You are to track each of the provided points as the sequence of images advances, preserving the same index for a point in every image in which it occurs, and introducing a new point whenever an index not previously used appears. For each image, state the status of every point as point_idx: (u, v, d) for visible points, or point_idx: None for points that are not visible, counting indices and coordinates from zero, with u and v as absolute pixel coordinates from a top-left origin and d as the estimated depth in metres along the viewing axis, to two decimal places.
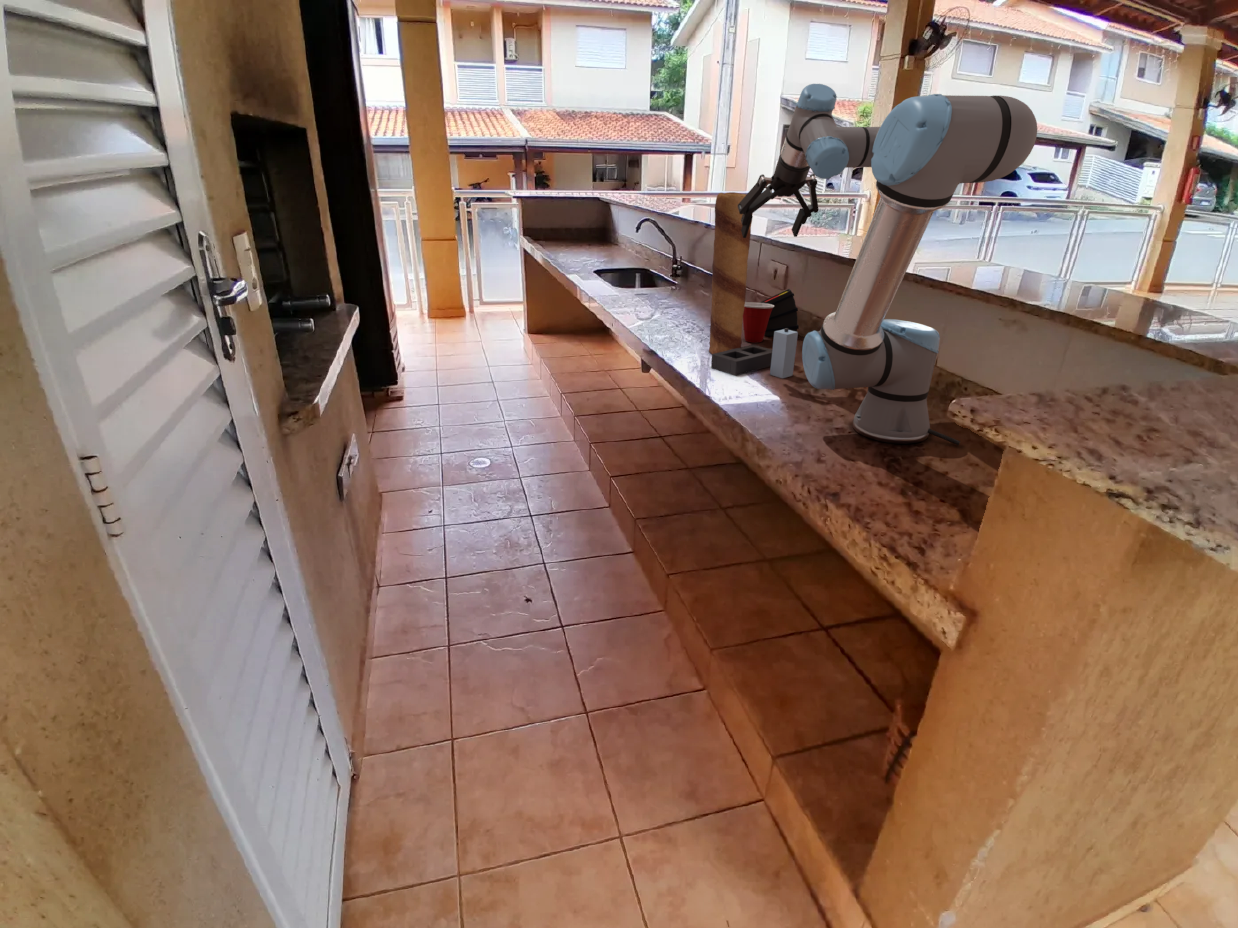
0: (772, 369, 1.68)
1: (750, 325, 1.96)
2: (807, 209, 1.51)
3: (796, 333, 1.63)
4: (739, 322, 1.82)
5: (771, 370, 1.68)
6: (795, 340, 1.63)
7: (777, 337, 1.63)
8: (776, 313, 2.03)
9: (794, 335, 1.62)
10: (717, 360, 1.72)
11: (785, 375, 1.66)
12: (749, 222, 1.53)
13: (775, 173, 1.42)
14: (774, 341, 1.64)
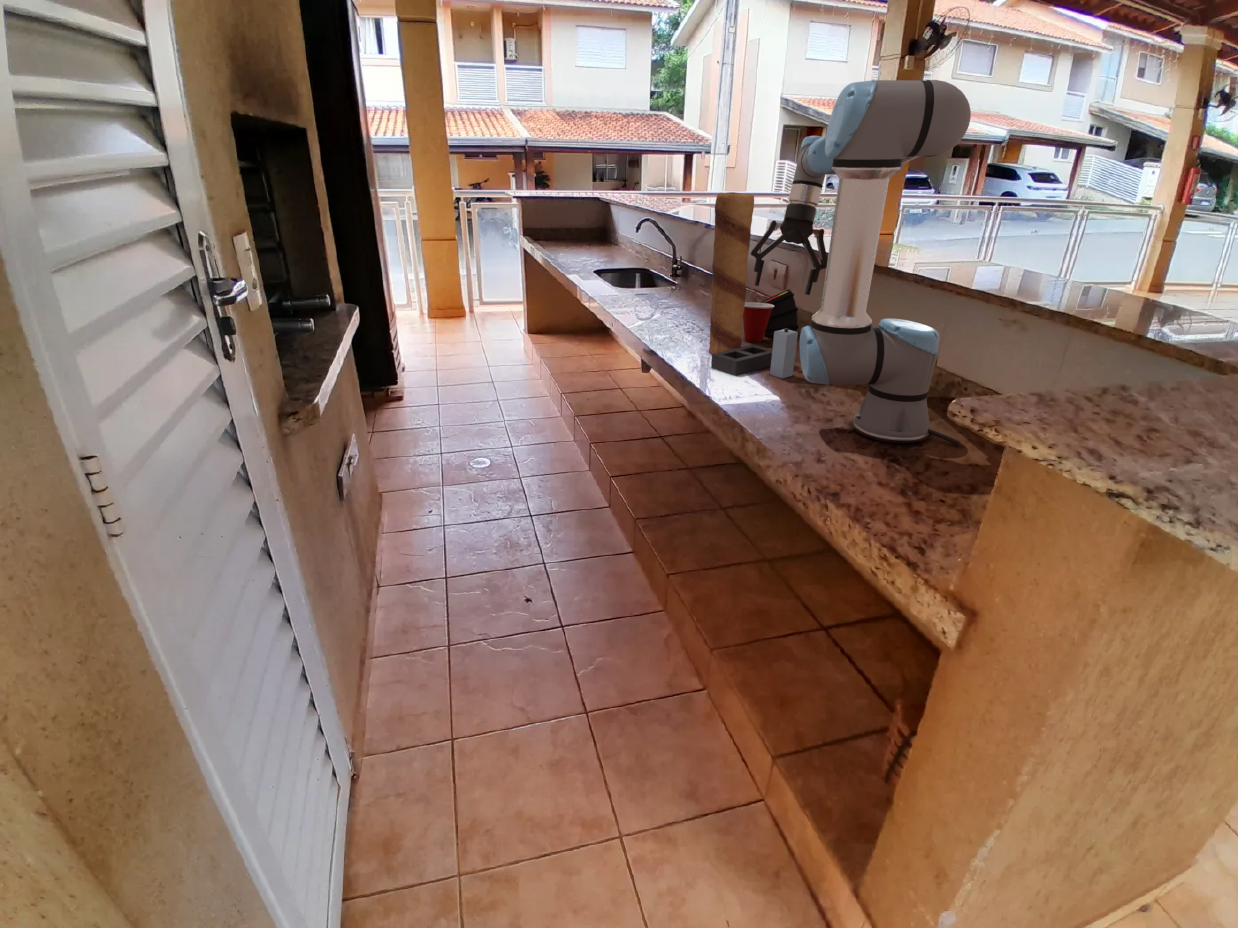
0: (772, 369, 1.68)
1: (750, 325, 1.96)
2: (817, 261, 1.59)
3: (796, 333, 1.63)
4: (739, 322, 1.82)
5: (771, 370, 1.68)
6: (795, 340, 1.63)
7: (777, 337, 1.63)
8: (776, 313, 2.03)
9: (794, 335, 1.62)
10: (717, 360, 1.72)
11: (785, 375, 1.66)
12: (761, 266, 1.61)
13: (784, 217, 1.58)
14: (774, 341, 1.64)
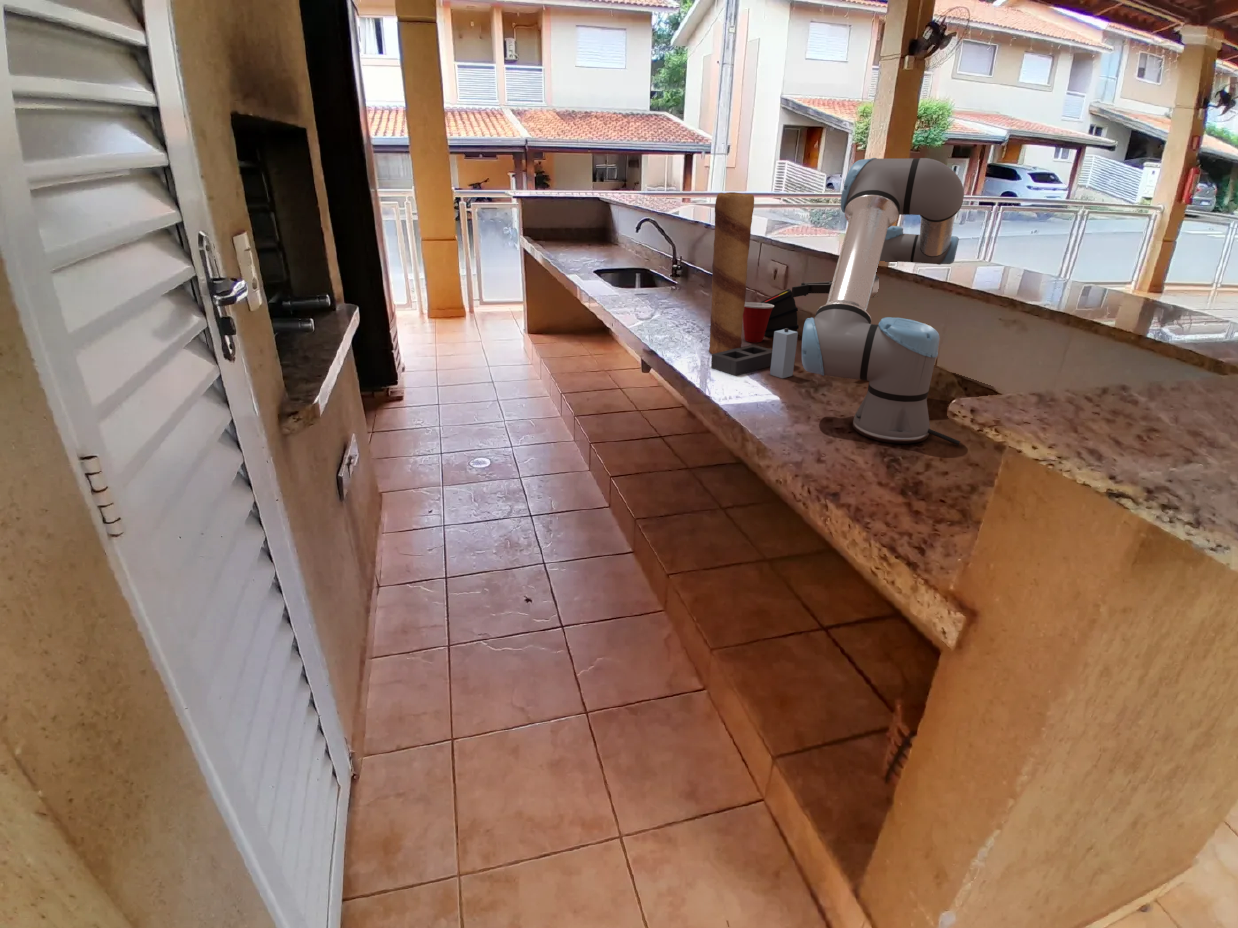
0: (772, 369, 1.68)
1: (750, 325, 1.96)
2: None
3: (796, 333, 1.63)
4: (739, 322, 1.82)
5: (771, 370, 1.68)
6: (795, 340, 1.63)
7: (777, 337, 1.63)
8: (776, 313, 2.03)
9: (794, 335, 1.62)
10: (717, 360, 1.72)
11: (785, 375, 1.66)
12: (804, 285, 1.72)
13: None
14: (774, 341, 1.64)
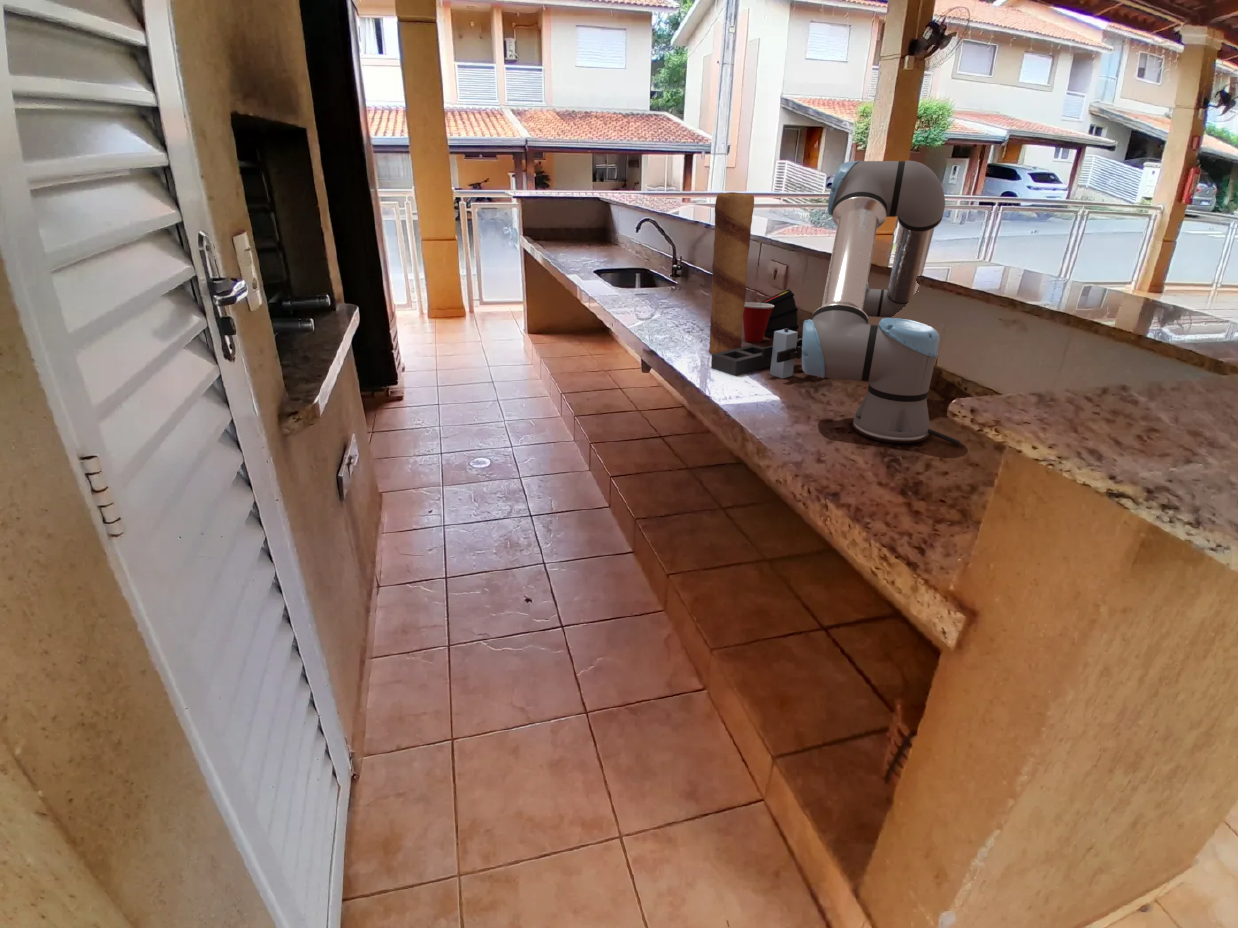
0: (772, 369, 1.68)
1: (750, 325, 1.96)
2: None
3: (796, 333, 1.63)
4: (739, 322, 1.82)
5: (771, 370, 1.68)
6: (795, 340, 1.63)
7: (777, 337, 1.63)
8: (776, 313, 2.03)
9: (794, 335, 1.62)
10: (717, 360, 1.72)
11: (785, 375, 1.66)
12: None
13: None
14: (774, 341, 1.64)
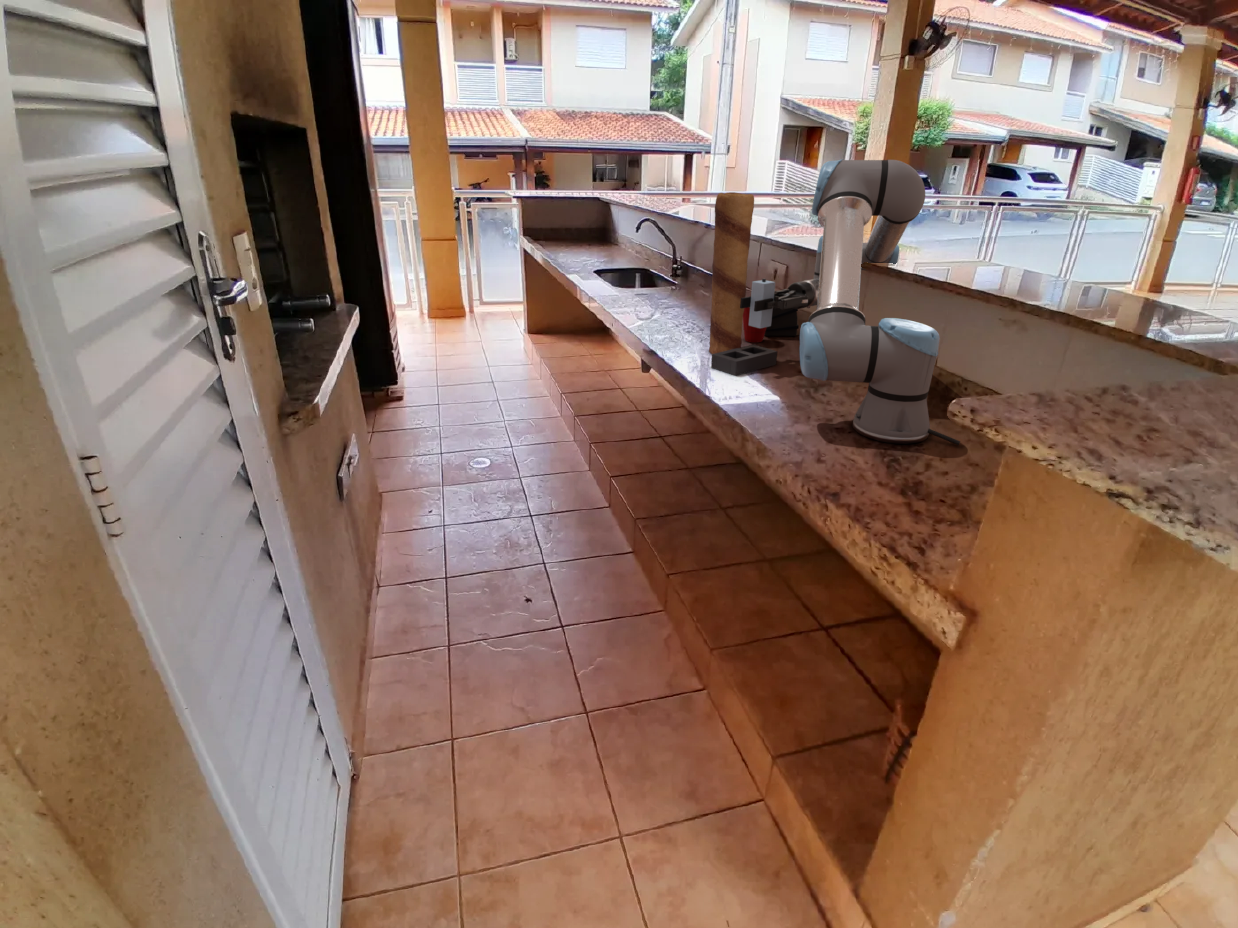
0: (750, 320, 1.71)
1: None
2: (779, 298, 1.68)
3: (773, 283, 1.66)
4: (739, 322, 1.82)
5: (750, 321, 1.71)
6: (772, 290, 1.67)
7: (755, 287, 1.67)
8: (776, 313, 2.03)
9: (772, 285, 1.66)
10: (717, 360, 1.72)
11: (763, 325, 1.70)
12: None
13: None
14: (752, 291, 1.68)
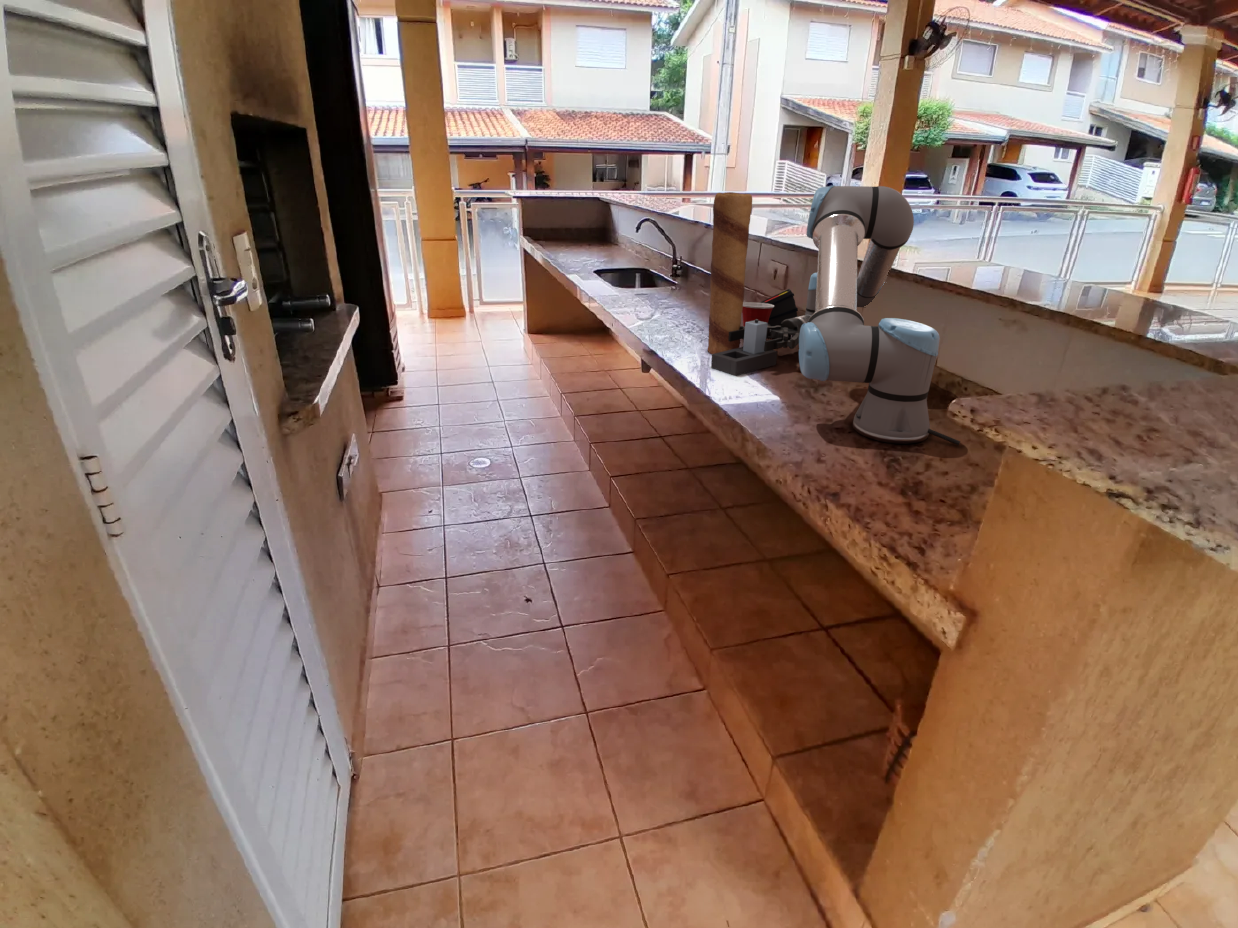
0: None
1: None
2: None
3: (766, 324, 1.72)
4: (737, 322, 1.82)
5: None
6: (765, 330, 1.73)
7: (748, 328, 1.73)
8: (776, 313, 2.03)
9: (764, 326, 1.72)
10: (717, 360, 1.72)
11: None
12: (741, 329, 1.80)
13: None
14: (745, 331, 1.74)
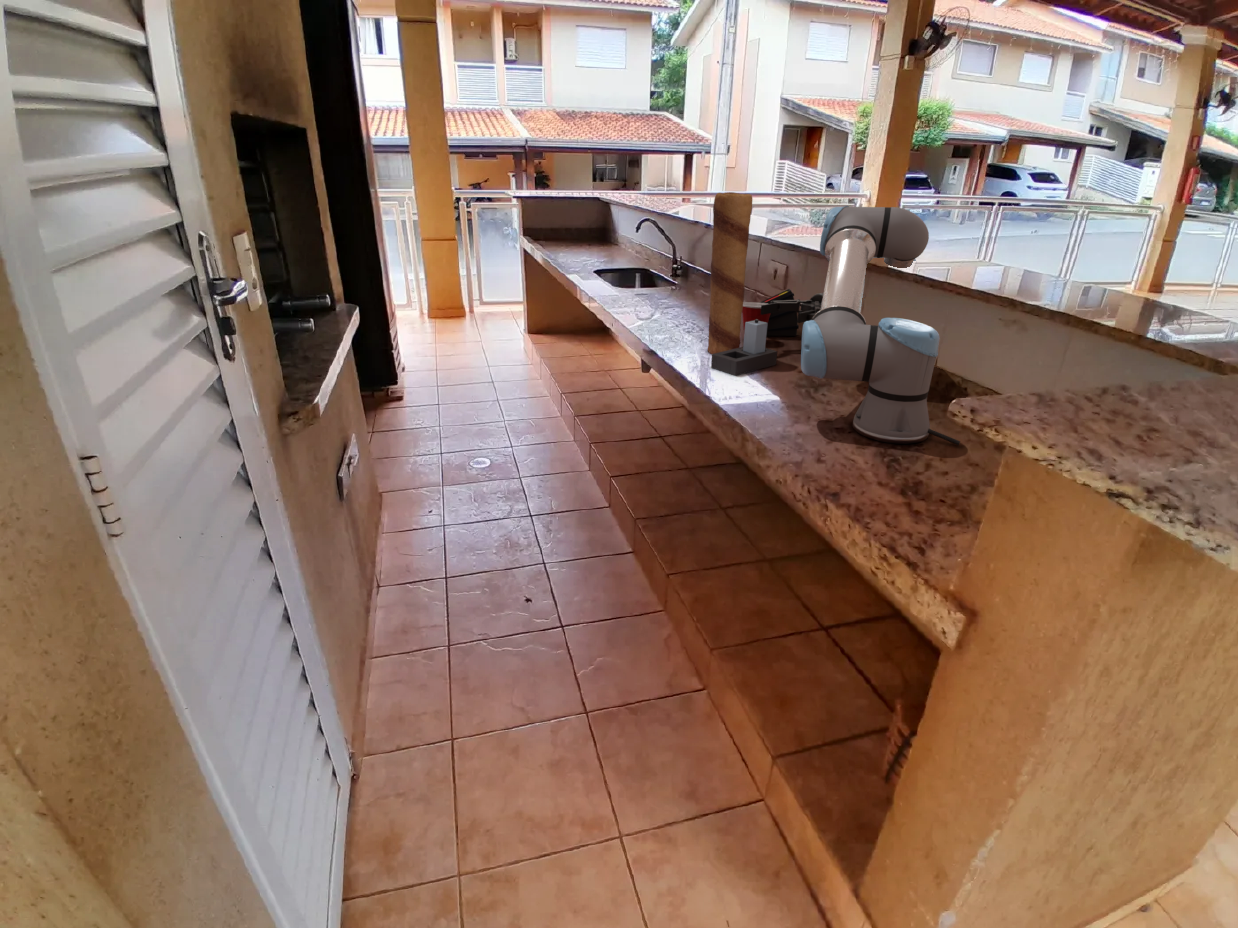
0: None
1: None
2: None
3: (766, 324, 1.72)
4: (737, 322, 1.82)
5: None
6: (765, 330, 1.73)
7: (748, 328, 1.73)
8: (776, 313, 2.03)
9: (764, 326, 1.72)
10: (717, 360, 1.72)
11: None
12: (773, 303, 1.84)
13: None
14: (745, 331, 1.74)
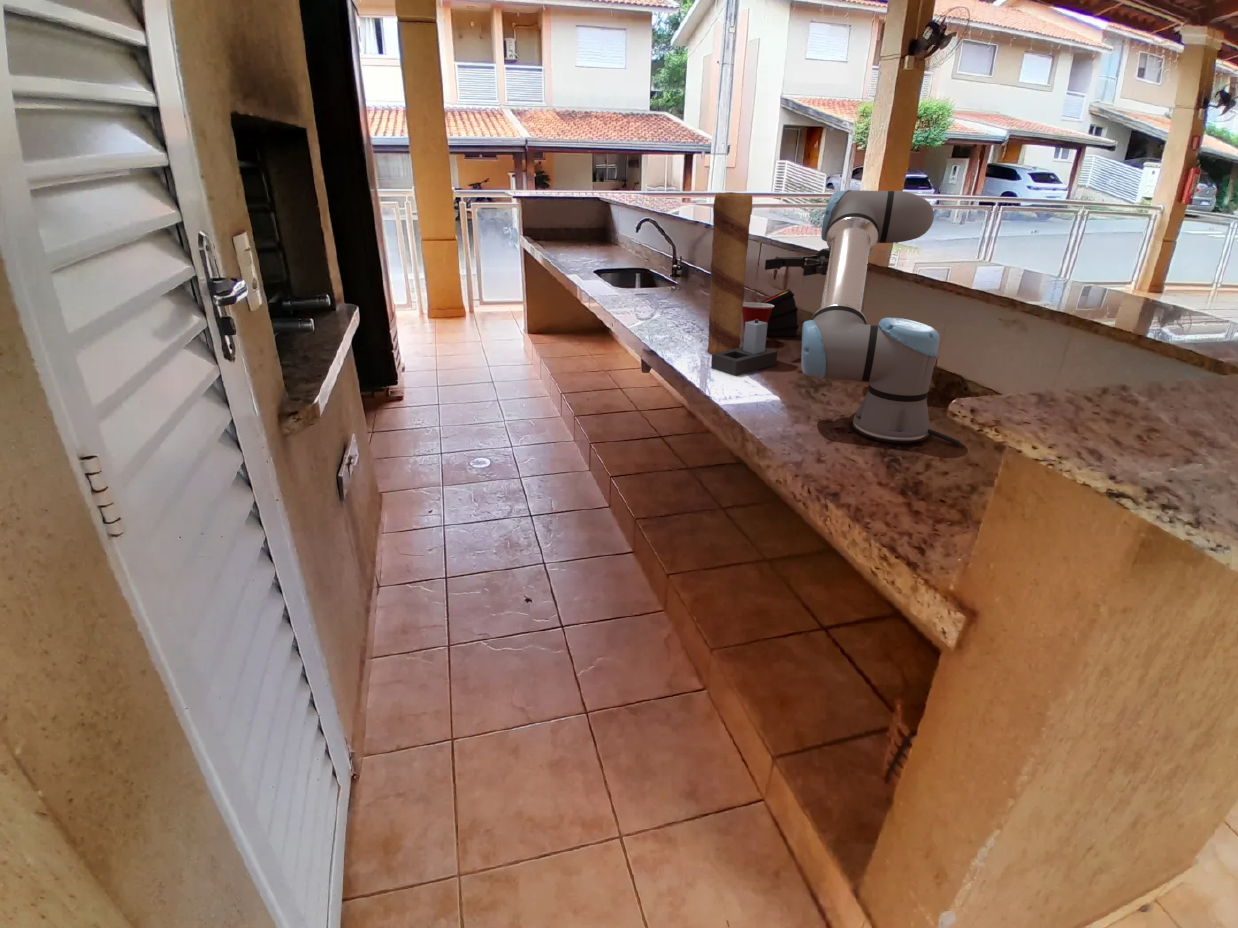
0: None
1: None
2: None
3: (766, 324, 1.72)
4: (737, 322, 1.82)
5: None
6: (765, 330, 1.73)
7: (748, 328, 1.73)
8: (776, 313, 2.03)
9: (764, 326, 1.72)
10: (717, 360, 1.72)
11: None
12: (777, 258, 1.79)
13: None
14: (745, 331, 1.74)
